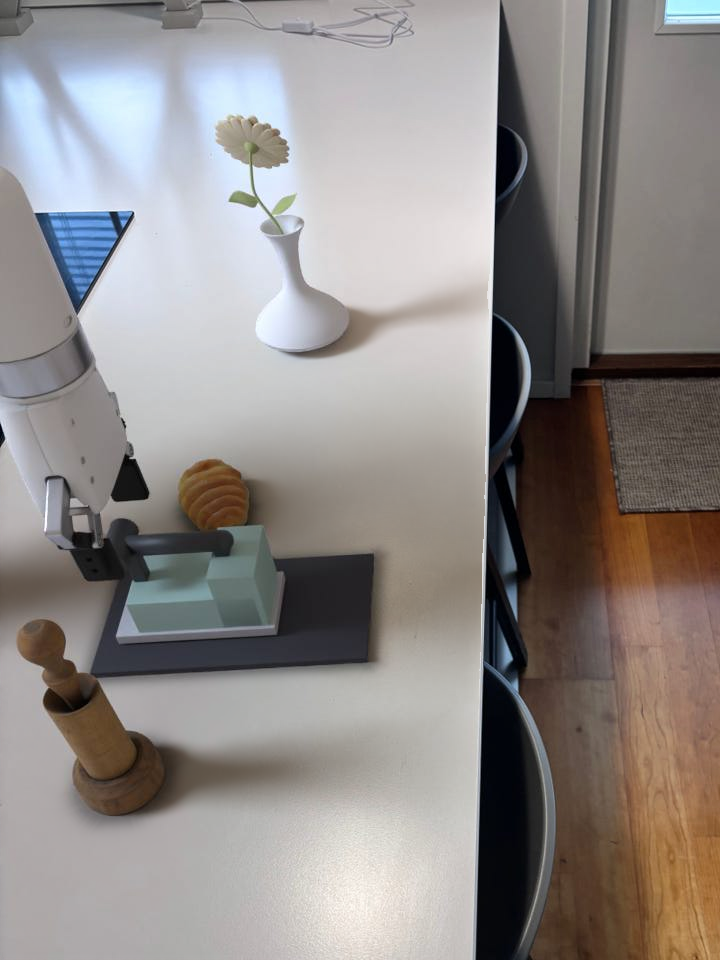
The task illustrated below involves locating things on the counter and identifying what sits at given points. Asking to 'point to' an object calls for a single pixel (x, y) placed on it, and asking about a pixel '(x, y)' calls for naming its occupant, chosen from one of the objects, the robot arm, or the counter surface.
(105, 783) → the mortar and pestle
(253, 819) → the counter surface
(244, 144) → the flower in vase
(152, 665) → the iron mat
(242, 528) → the iron
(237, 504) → the pastry
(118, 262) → the counter surface
